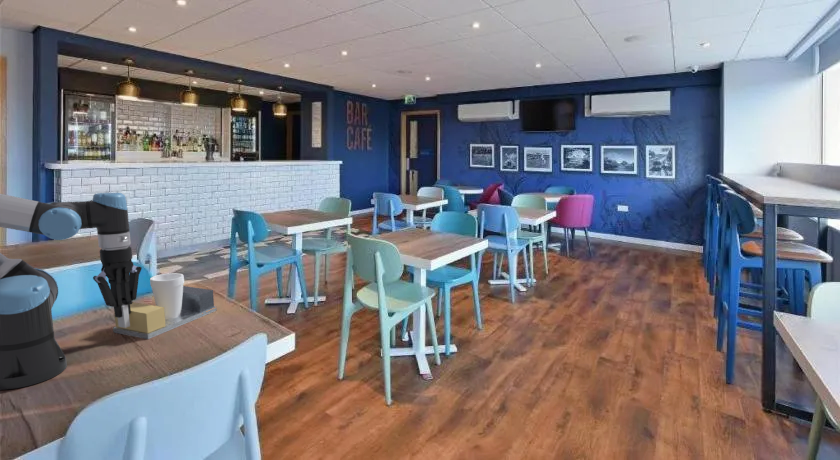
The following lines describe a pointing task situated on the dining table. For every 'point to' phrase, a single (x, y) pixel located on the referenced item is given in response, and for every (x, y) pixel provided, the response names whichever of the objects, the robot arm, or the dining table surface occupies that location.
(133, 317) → the block
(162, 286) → the foam cup
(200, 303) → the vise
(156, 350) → the dining table surface
